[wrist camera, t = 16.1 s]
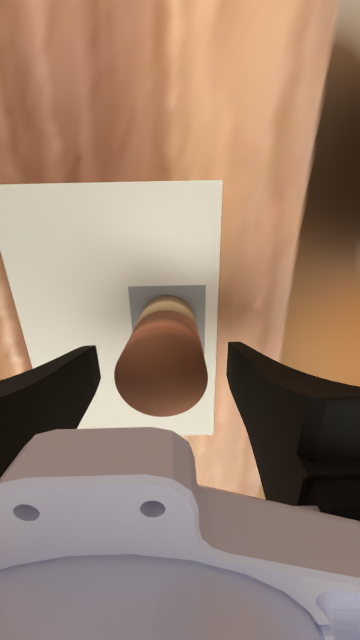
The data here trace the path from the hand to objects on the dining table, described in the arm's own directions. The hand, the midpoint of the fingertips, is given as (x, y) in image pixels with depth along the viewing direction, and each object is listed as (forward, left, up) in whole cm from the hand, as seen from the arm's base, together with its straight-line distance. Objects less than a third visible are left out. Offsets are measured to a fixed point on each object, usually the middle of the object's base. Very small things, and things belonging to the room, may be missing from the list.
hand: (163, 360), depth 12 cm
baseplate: (-1, -4, -7) cm, 8 cm away
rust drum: (0, 0, -2) cm, 2 cm away
